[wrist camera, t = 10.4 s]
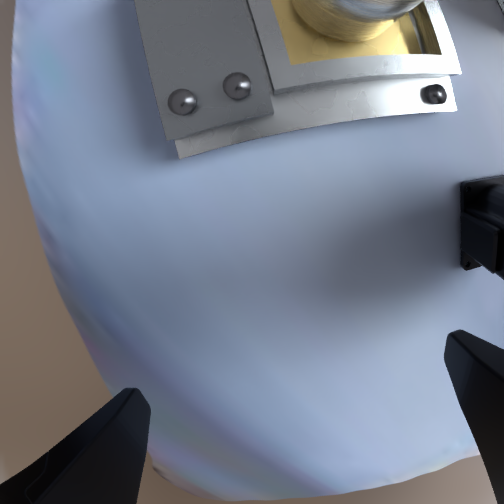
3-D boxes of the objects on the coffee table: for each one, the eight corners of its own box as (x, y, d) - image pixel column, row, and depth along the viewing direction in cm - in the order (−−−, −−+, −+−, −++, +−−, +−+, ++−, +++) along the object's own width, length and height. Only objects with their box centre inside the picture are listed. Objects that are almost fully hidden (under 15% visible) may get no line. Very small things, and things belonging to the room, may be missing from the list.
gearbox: (376, -64, 10) (396, -95, 6) (440, 111, 15) (482, 110, 11) (144, -28, 12) (116, -58, 8) (188, 156, 17) (163, 164, 13)
